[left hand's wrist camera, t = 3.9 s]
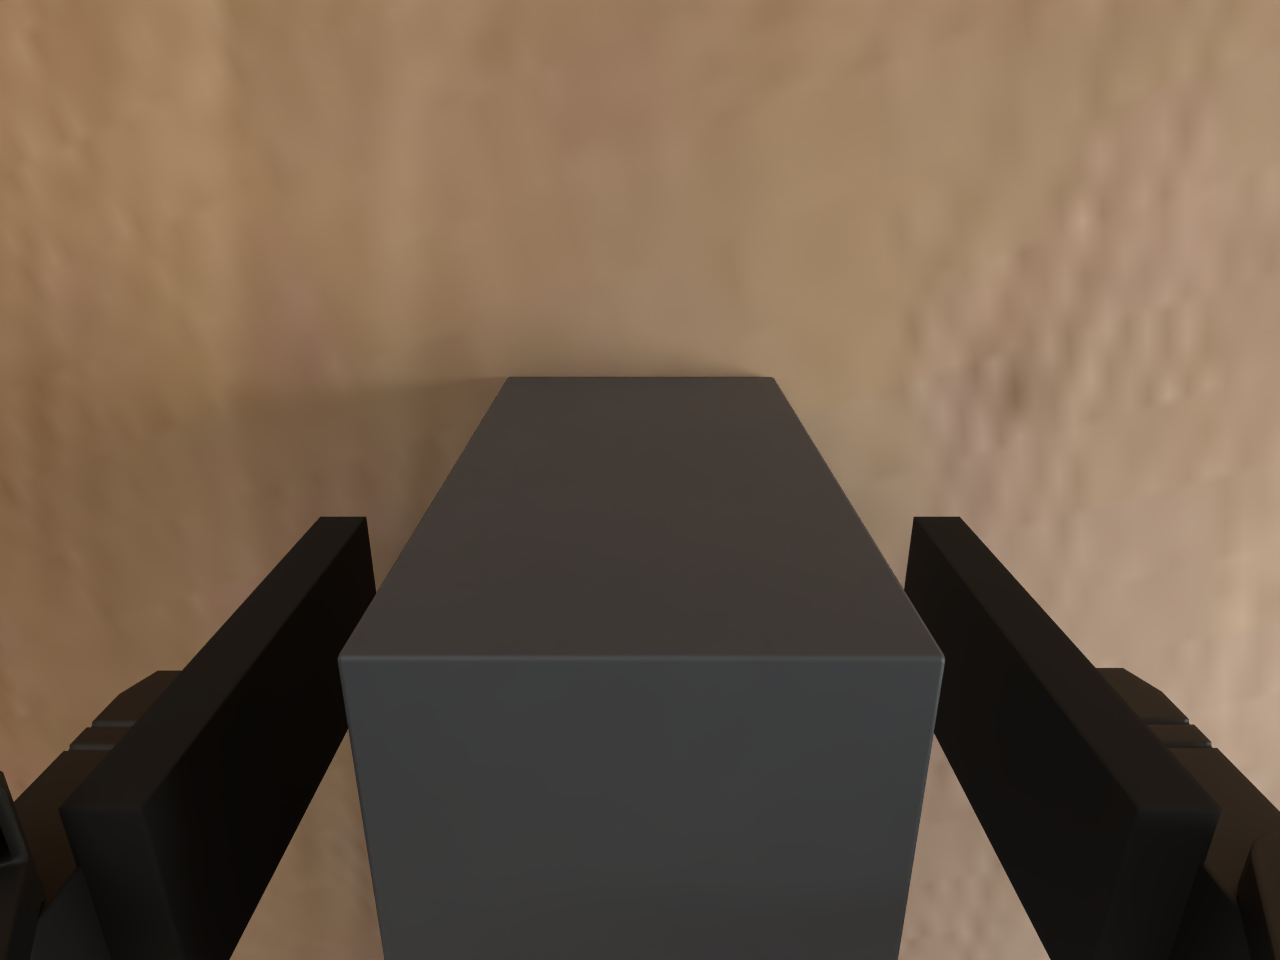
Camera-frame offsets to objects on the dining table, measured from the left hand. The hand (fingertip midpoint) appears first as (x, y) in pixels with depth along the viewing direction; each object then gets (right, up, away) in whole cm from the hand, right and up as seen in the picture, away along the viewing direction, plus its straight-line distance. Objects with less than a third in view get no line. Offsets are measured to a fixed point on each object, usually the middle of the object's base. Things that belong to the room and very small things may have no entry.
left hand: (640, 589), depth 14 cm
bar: (0, -8, +5) cm, 10 cm away
